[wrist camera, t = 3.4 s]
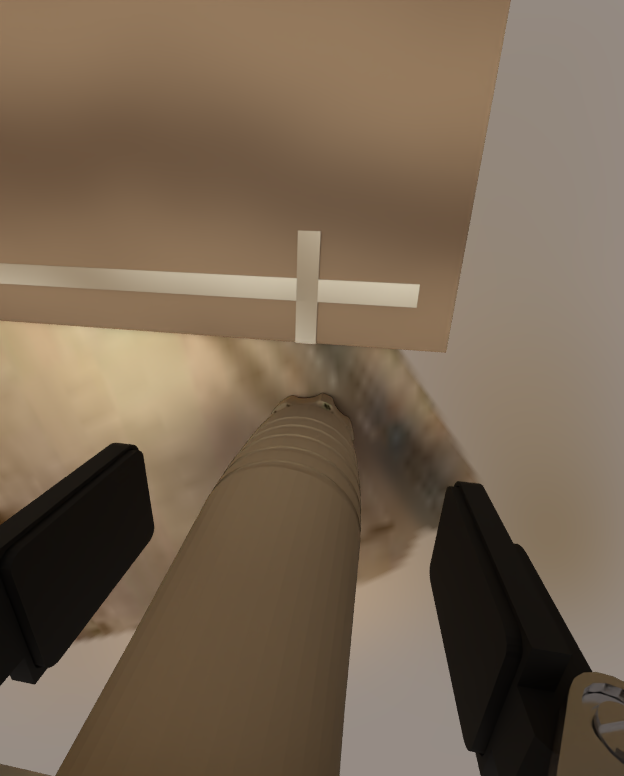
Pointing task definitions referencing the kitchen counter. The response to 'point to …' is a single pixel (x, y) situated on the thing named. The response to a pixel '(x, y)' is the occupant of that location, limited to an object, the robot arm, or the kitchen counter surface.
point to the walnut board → (243, 164)
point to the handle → (246, 620)
